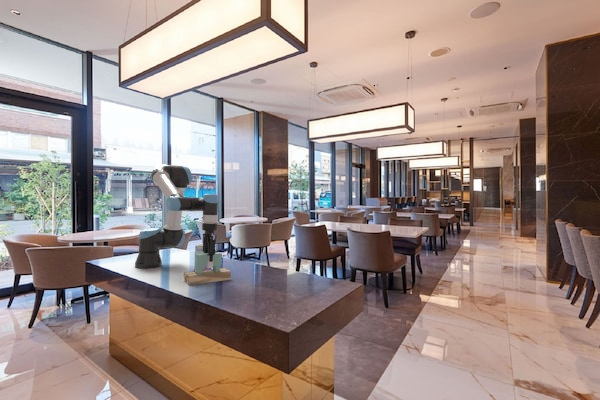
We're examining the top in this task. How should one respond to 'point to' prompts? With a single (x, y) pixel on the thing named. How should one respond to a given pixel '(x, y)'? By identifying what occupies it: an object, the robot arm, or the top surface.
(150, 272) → the top surface
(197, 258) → the green arch block
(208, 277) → the wooden block with holes
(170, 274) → the top surface
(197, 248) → the candy box
